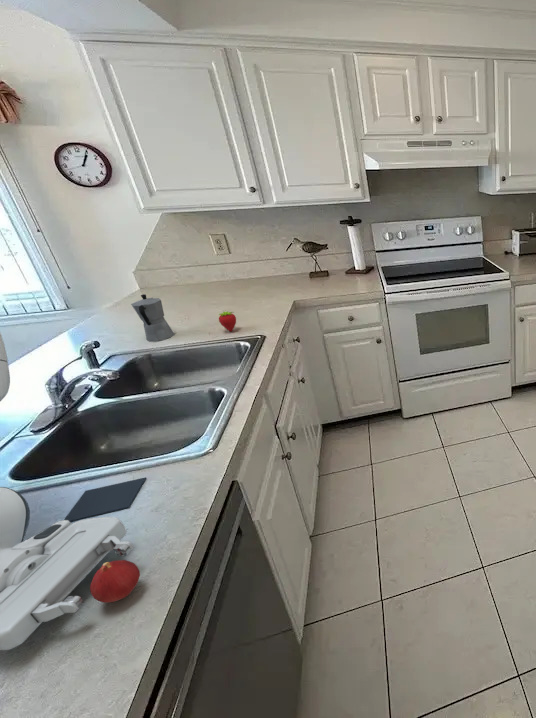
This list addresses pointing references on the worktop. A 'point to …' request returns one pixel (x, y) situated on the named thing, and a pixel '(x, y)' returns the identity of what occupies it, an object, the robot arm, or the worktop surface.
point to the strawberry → (227, 320)
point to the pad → (105, 500)
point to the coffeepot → (153, 318)
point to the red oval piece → (114, 581)
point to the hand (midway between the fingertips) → (105, 574)
